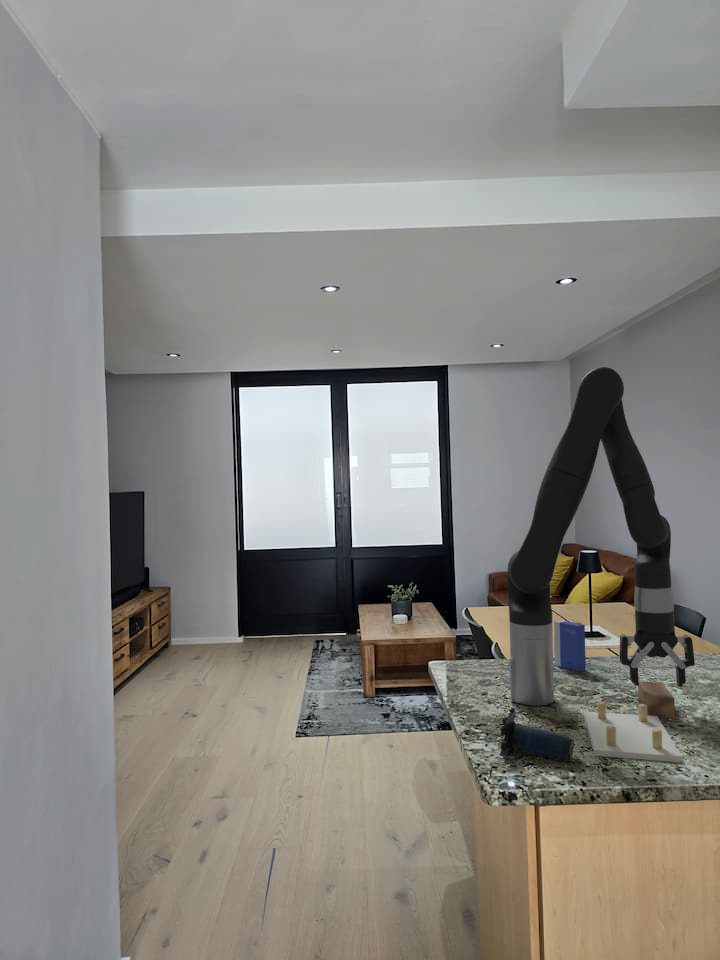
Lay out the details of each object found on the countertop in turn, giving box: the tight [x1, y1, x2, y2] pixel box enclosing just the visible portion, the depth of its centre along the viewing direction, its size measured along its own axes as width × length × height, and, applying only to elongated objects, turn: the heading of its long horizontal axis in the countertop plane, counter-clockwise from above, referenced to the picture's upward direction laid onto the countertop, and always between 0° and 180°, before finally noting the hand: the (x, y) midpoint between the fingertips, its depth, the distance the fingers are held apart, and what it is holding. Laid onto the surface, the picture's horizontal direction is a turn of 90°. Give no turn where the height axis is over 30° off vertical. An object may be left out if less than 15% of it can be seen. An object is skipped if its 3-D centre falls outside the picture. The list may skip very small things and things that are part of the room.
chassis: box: [583, 701, 683, 763], centre depth 122 cm, size 14×20×4 cm
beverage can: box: [499, 707, 575, 762], centre depth 116 cm, size 9×8×12 cm
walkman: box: [553, 619, 587, 673], centre depth 170 cm, size 8×3×12 cm, turn 32°
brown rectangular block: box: [637, 681, 676, 721], centre depth 137 cm, size 5×11×4 cm, turn 166°
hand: (657, 685), depth 137 cm, fingers open, 8 cm apart
